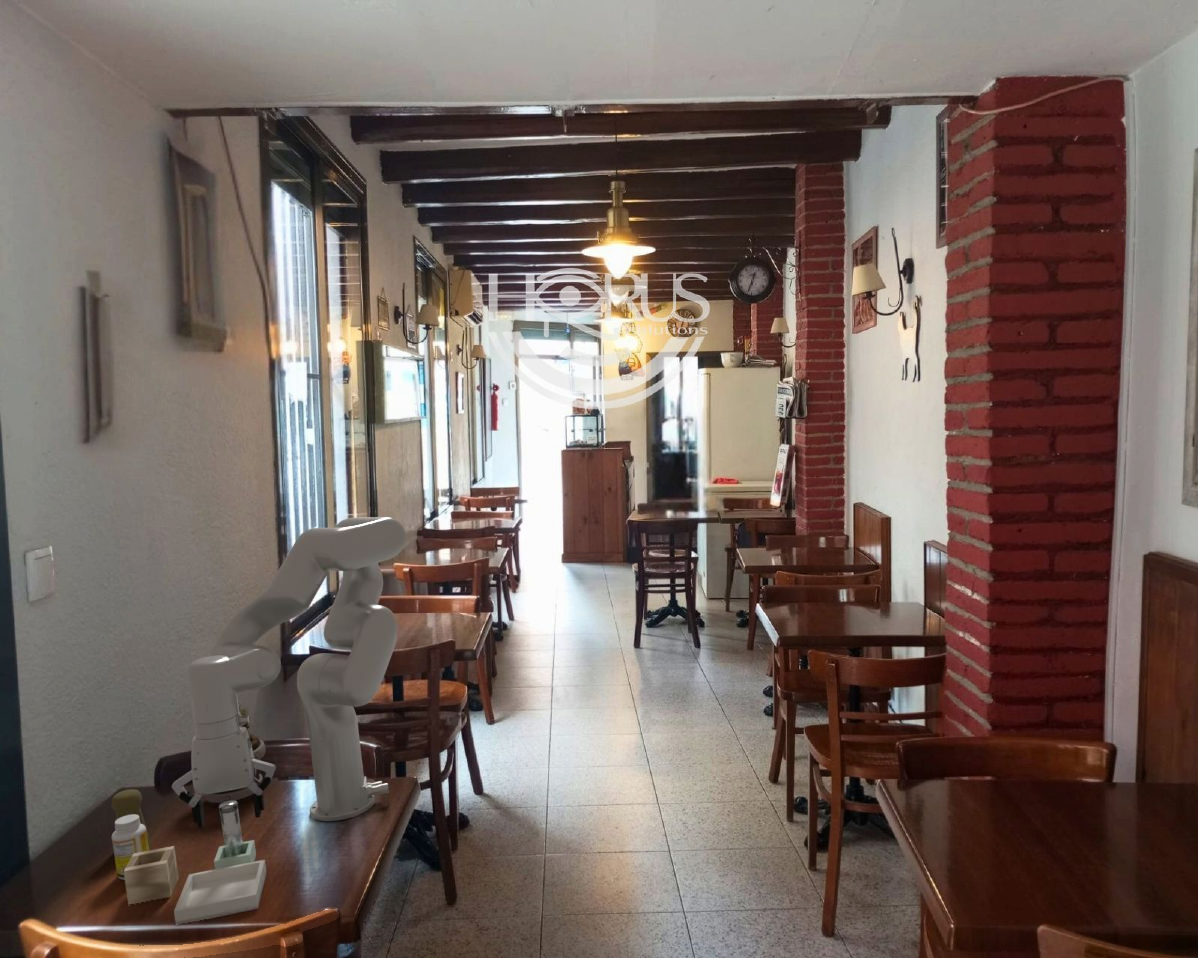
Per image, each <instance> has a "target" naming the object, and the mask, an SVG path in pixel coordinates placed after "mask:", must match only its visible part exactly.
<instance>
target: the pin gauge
mask: <svg viewBox="0 0 1198 958" xmlns="http://www.w3.org/2000/svg"><path fill="white" fill-rule="evenodd" d="M218 810H219V815H220V823H221V828H222V837H223V843H224V846H225V851H226V857H231V856H236V855H241V854H244V848H243V842H244V841H243V835H242V829H241V827H242V826H241V822H240V814H239V804H238V803H237V801H235V800H231V801H226V802H224V803H222V804H220V805H218Z"/></svg>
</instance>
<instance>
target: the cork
mask: <svg viewBox="0 0 1198 958" xmlns="http://www.w3.org/2000/svg"><path fill="white" fill-rule="evenodd" d="M142 801H143V795H142V793H141V792H140V790H138V789H133V788H132V789H125V790H122V791H119V792H117V793H116V794H115V795H114V796H113V797H112V798H111V802H110V803H111V808H112V810H113V811H114V812H115V821H116V820H117V819H119V818H121V817H123V816H127V815H132V814H136V815H139V819H140V824H143V825H145V827H146V832H147V839H148V846H149V847H150V846H151V844H152V842H151V840H150V835H149V832H148V829H147V826H146V822H145V819H144V816H143V813H142V808H141V805H142V803H143V802H142Z"/></svg>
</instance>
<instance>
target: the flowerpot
mask: <svg viewBox="0 0 1198 958" xmlns="http://www.w3.org/2000/svg"><path fill="white" fill-rule="evenodd" d="M238 707H239V712H240V714H241V715H242V716H243V715H244V716H249V720H251V717H250V712H249V711H248V710H247V709H246V708H245V707H243V708H242V706H241V704H238ZM251 726H253V725H252V724H251V723H250V724H249V723H245V724H244V725H242V726H241V727H245V728H246V729H247V732H248V735H249V738H250V741H251V745H252V750H253V755H254V759H257V760H260V761H262V758H263V757H264V756H265V754H266V745H265V742H264V740H261V739H260V737H259V736H256V735H254V734H252V733H251V732H250V728H251ZM190 764H191V766H192V761H191V760H190ZM254 777H255V778H256V779H258V780H259V781H260V782H261V781H262V780H263V775H262V774H261V770H258V769H256V776H254ZM253 795H254V792H252V791H251V790H250V789H249V788H247V787H245V788H240V789H235V790H229V791H224V792H218V793H212V794H206V795H202V797H203V799H205V801H207V802H209V804H210V805H211V806H213V805H215V806H214V807H219V805H220V804H222V803H224V802H226V801H231V800H235V801H237V803H239V804H241V803H242V802H246V800H247V801H249V800H251V799H253V798H252V797H253ZM248 799H249V800H248Z"/></svg>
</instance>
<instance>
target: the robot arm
mask: <svg viewBox="0 0 1198 958" xmlns="http://www.w3.org/2000/svg"><path fill="white" fill-rule="evenodd" d="M406 538H407V537H406V530H405V528H404V526H403V525H402V523H401V522H400V521H399V520H397V519H395V518H393V517H387V516H376V517H375V516H374V517H373V516H372V517H371V516H368V517H366V516H364V517H363V516H361V517H360V516H359V517H349V518H348V517H347V518H346V519H343V520H341V521H339V522H338V523H337V524H336V526H335V527H316V528H315V527H314V528H309V529H307V530H305V531H303V532H302V533H300V535H299V536H298V537H297V539H296V541H295V542H294V544H293V545H292V547H291V549H290V550H289V551H288V553H287V555H286V556H285V559H283V562H282V563H281V566H280V567H279V569H278V570H277V572H276V573H275V575H274V577H273V579H272V581H271V582H270V583H269V585H268V587H266V589H265V590H264V591H263V592H262V593H260V594H259V595H257V596H256V597H255V598H254V599H253V600H252V601H250V602H249V603H248V604H247V605H246V606H244V607H243V608H242V609H241V610H240V611H238V613H236V614H235V616H233V618H231V620H230V621H229V622H228V624H227V625H226V626H225V628H224V629H223V631H222V633H221V634H220V636H219V637H218V639H217V641H216V642H215V644H214V646H213V648H212V650H211V652H210V655H209V656H204V657H201V658H198V659H197V658H196V659H195V660H193V661H192V662H190V663H189V664H188V666H187V669H186V672H187V673H186V675H187V683H188V691H189V697H190V703H191V712H192V718H193V725H194V727H193V728H194V733H195V735H194V736H193V737H192V741H191V751H190V752H191V755H190V756H191V759H190V762H191V761H192V765H191V770H189V771H188V772H186V773H185V774H183V775H181V776H180V777H179V778H178V779H176V780H175V781H174V782H173V783H172V785H171V789H172V790H173V791H174V793H175V794H176V795H178V798H179V800H180V801H183V802H185V803H186V804H188V806H189V808H191V811H192V818H193V819H192V820H193V823H194V824H197V829H202V828H203V826H204V824H205V822H206V817H205V809H204V802H203V800H202V799H201V798H202V797H203V796H204V795H206V794H212V793H218V792H224V791H229V790H235V789H240V788H245V787H247V788H249V789H250V790H251V791H252V792H254V795H253V798H252V802H253V809H254V810H253V811H254V817H255V818H257V819H258V818H261V815H262V812H263V811H264V810H265V799H264V793H263V792H264V791H265V790H266V789H267V788H268V786H269V785H270V784H271V782H272V779H273V776H274V773H275V771H276V769H277V768H276V766H277V765H276V764H274V763H270V762H267V761H263V760H261V761H260V760H257V759H254V755H253V750H252V745H251V741H250V738H249V735H248V733H249V732H247V729H246V728H245V727H241V726H242V725H244V724H245V723H248V724H250V719H249V718H250V715H249V716H244V715H243V716H242V715H241V714H240V712H239V708H240V707H239V701H238V693H240V692H241V693H242V692H245V691H250V690H251V691H252V690H256V689H261V688H263V687H264V688H265V687H266V686H269V685H270V684H272V683H273V682H274V681H275V680H276V679H277V677H279V674H280V672H281V668H282V663H281V659H280V656H279V654H278V653H276V651H274V650H273V649H271V648H269V647H266V646H260V645H257V644H258V642H259V641H260V639H262V638H263V637H264V636H265V635H266V634H267V633H268V632H269V631H271V630H272V629H274V628H276V627H277V626H279V625H281V624H283V623H285V622H288V621H290V620H292V619H294V618H296V617H299V616H300V615H302V614H304V613H306V612H307V611H308V609H309V608H310V606H311V604H312V603H313V601H314V599H315V597H316V595H317V594H318V591H319V590H320V588H321V587H322V585H323V583H324V582H325V580H326V578H327V576H328V575H329V572H342V579H341V582H340V585H339V588H338V590H337V594H336V595H335V596H336V597H335V599H334V601H333V603H332V605H331V608H330V610H329V614H328V615H327V618H326V621H325V624H324V627H323V638H324V641H325V643H327V644H328V645H329V646H330V647H332V648H333V649H334V648H335V649H338V650H341V651H349V652H350V654H349V655H346V654H340V653H330V652H329V653H328V652H325V653H323V652H322V653H321V652H320V653H317V654H313V655H310V656H309V657H307V658H306V659H305V660H304V661H303V662H302V663H301V665H300V666H299V668H298V671H297V675H296V687H297V692H298V694H299V697H300V699H301V703H302V706H303V709H304V713H305V719H306V724H307V731H308V739H309V740H308V741H309V747H310V755H311V764H312V772H313V778H314V789H315V794H316V795H315V796H316V800H315V801H314V802H313V803H312V804H311V806H310V808H309V813H310V817H311V818H312V819H315V820H317V821H321V822H337V821H343V820H348V819H350V818H354V817H357V816H360V815H361V814H363V813H365V812H367V811H368V810H369V809H371V808H372V807H373V805H375V802H376V801H375V796H376V795H384V794H389V792H390V791H389V784H388V783H383V781H382V780H380V781H375V782H371V781H369V782H368V779H367V776H365V775H364V767H363V760H362V759H363V758H362V749H361V741H360V734H359V724H358V723H359V722H358V718H357V714H356V711H355V708H356V707H362V706H365V705H368V704H369V703H370V702H372V700H374V698H375V696H376V695H377V693H378V691H379V690H380V687H381V685H382V683H383V680H384V677H385V675H386V672H387V669H388V667H389V663H390V660H391V658H392V655H393V652H394V649H395V646H396V643H397V641H398V634H399V626H398V624H399V623H398V620H397V617H396V615H395V614H394V612H393V611H392V610H391V609H390V608H388V607H386V606H384V605H380V604H379V602H380V598H381V596H382V592H383V588H384V578H383V572H382V570H381V567H380V565H379V563H381V562H384V561H388V560H390V559H393V558H395V557H396V556H397V555H399V554H400V553H401V551H403V548H404V546H405V543H406V540H407V539H406ZM354 707H355V708H354ZM256 769H258V770H260V771H263V772H265V775H264V777H262V781H261V782H260V781H259V780H258V779H256V778H255V777H254V776H256ZM191 781H192V787H193V791H194V793H192V792H190V791H189V789H188V790H187V789H186V787H185V786H184V785H186V784H187V783H189V782H191Z"/></svg>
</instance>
